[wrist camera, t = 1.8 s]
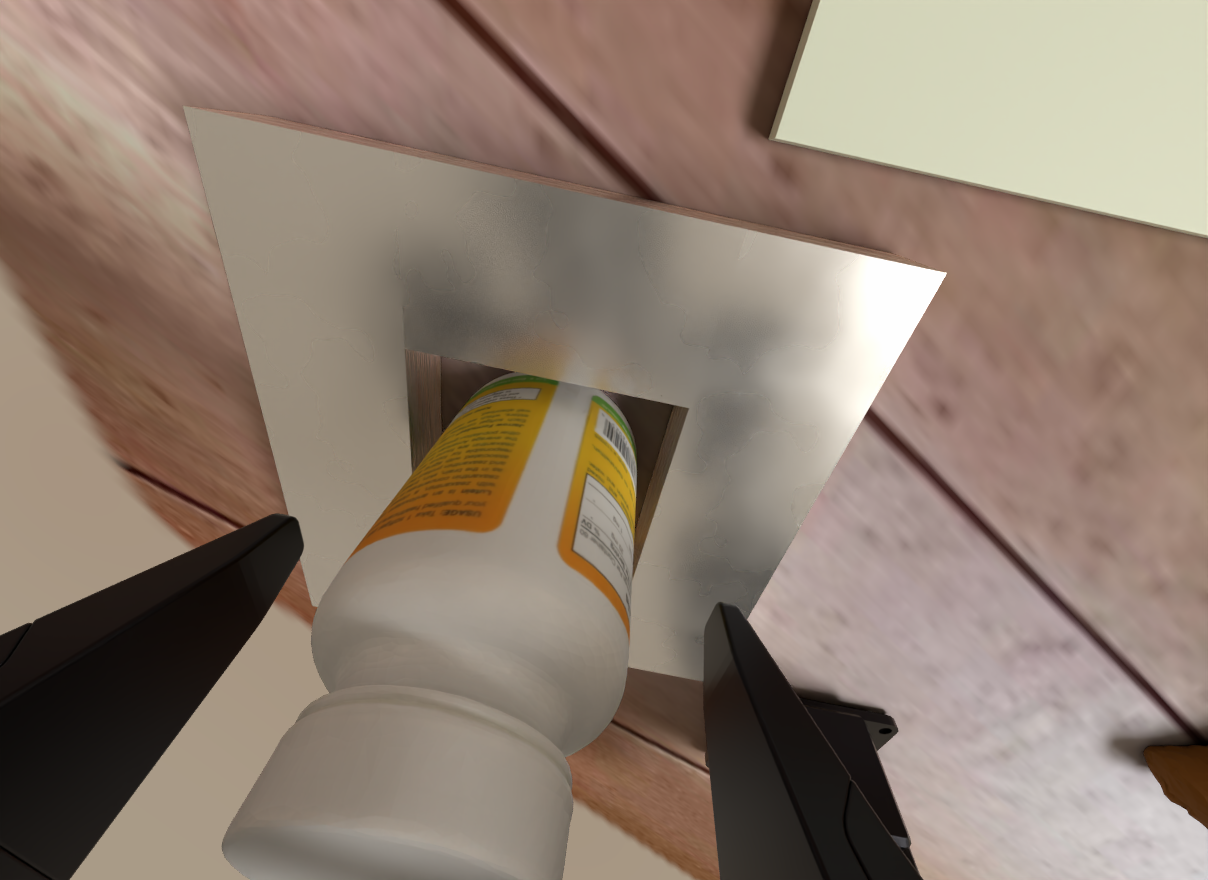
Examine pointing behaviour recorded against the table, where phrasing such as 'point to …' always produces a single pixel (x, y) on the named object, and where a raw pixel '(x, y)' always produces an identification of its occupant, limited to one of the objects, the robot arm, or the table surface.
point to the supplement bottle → (463, 656)
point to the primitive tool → (1182, 776)
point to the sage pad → (1016, 98)
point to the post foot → (546, 343)
